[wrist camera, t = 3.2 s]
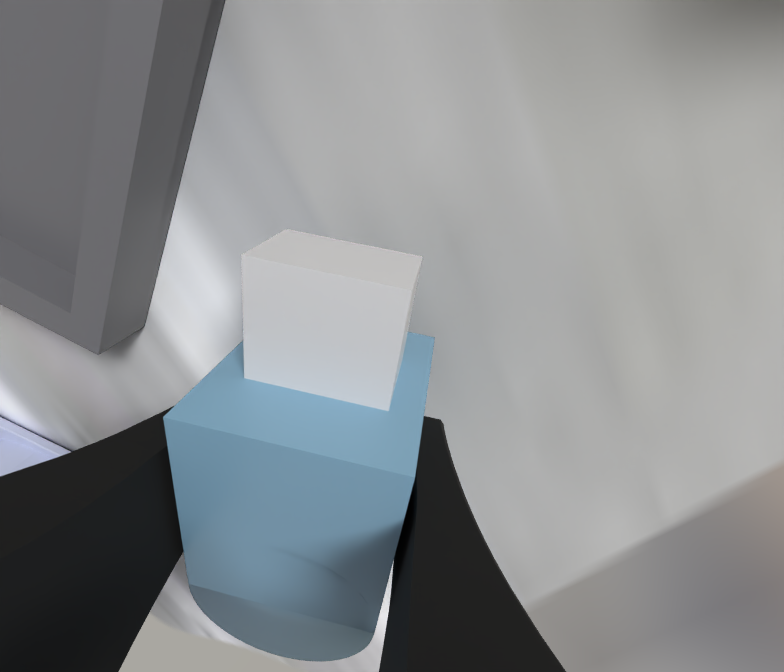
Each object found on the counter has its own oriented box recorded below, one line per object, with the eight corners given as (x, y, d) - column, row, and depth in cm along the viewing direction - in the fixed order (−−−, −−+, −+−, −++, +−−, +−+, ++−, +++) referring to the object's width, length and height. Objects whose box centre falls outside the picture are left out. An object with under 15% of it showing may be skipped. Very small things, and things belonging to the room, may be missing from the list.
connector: (393, 510, 14) (362, 678, 10) (276, 481, 15) (196, 632, 10) (456, 244, 10) (450, 341, 5) (282, 210, 10) (141, 274, 6)
